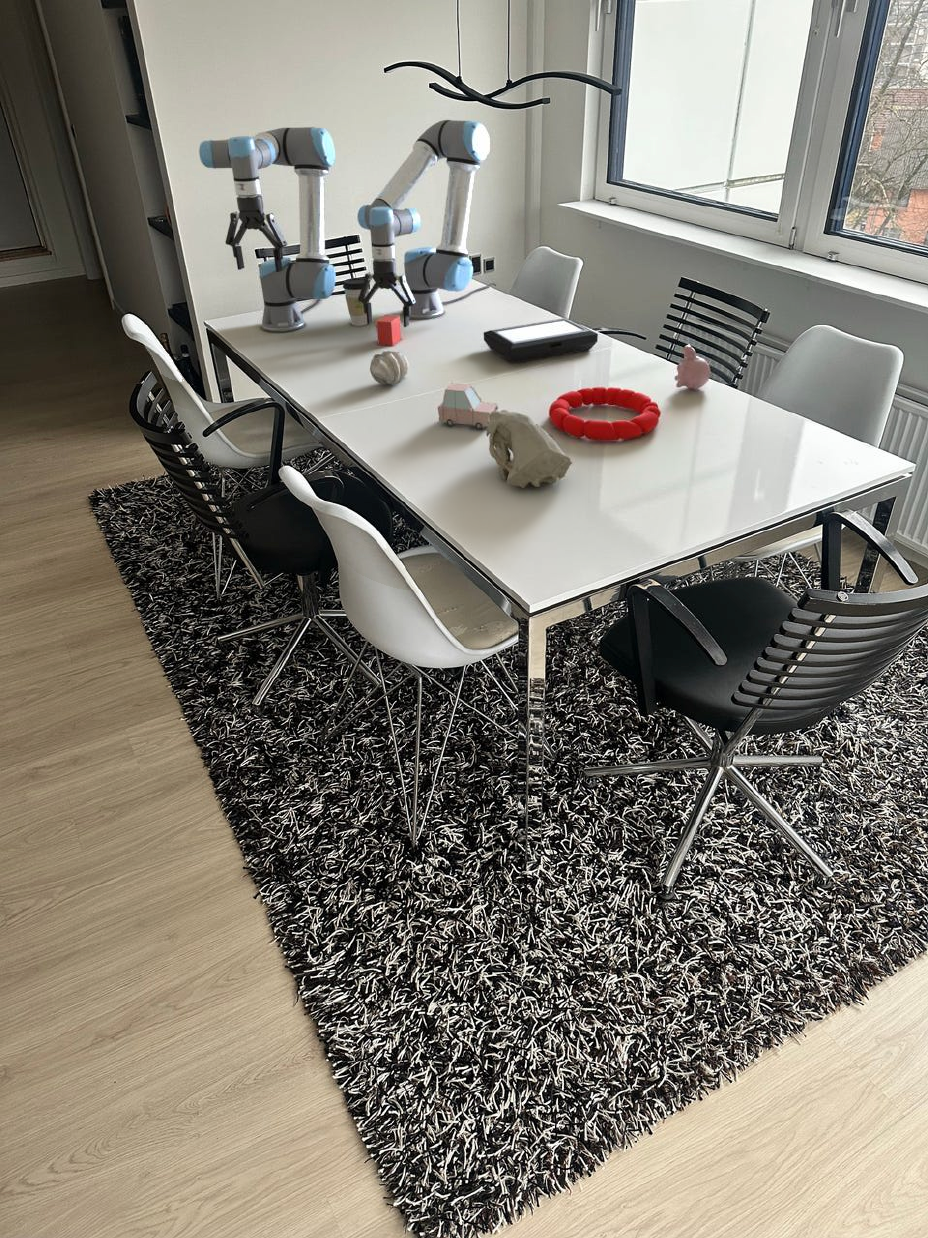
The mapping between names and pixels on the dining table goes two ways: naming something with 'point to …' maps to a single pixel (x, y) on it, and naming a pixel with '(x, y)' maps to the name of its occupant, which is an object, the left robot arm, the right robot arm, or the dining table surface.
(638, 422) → the decorative ring
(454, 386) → the toy car
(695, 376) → the figurine
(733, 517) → the dining table surface
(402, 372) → the seashell
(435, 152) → the right robot arm
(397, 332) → the block
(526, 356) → the electronic device
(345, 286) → the coffee cup
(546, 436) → the animal skull
